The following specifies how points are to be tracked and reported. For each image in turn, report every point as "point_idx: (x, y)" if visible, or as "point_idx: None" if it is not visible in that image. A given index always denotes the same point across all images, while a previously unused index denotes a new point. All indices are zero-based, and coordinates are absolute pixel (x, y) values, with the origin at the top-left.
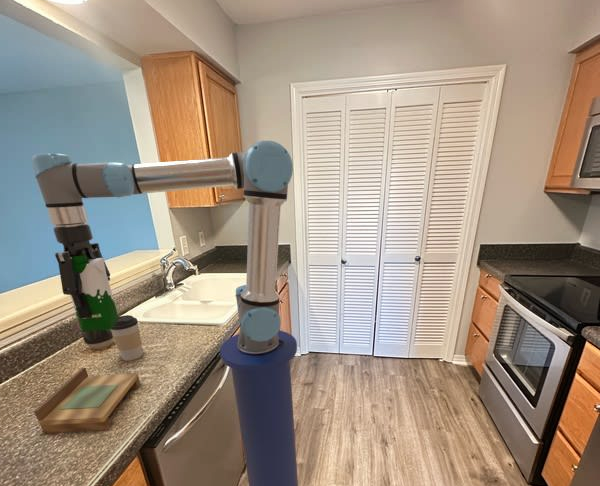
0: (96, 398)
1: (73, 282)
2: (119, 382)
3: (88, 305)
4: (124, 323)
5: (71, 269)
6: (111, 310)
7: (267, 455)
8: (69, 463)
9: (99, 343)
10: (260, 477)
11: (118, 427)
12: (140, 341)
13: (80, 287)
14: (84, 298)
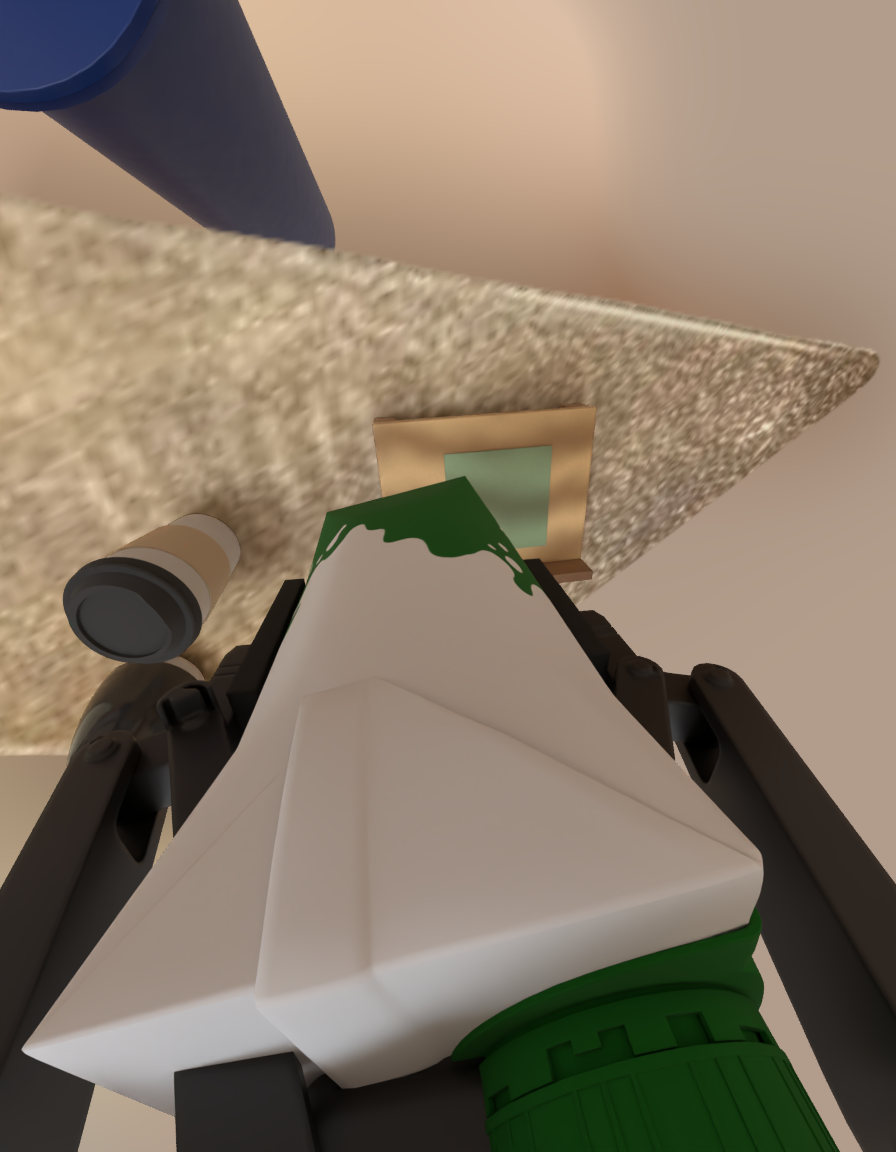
0: (511, 478)
1: (760, 747)
2: (428, 458)
3: (548, 595)
4: (156, 593)
5: (873, 918)
6: (430, 497)
7: (287, 123)
8: (673, 426)
9: (190, 674)
10: (305, 192)
11: (574, 374)
12: (159, 529)
13: (636, 696)
14: (590, 627)
